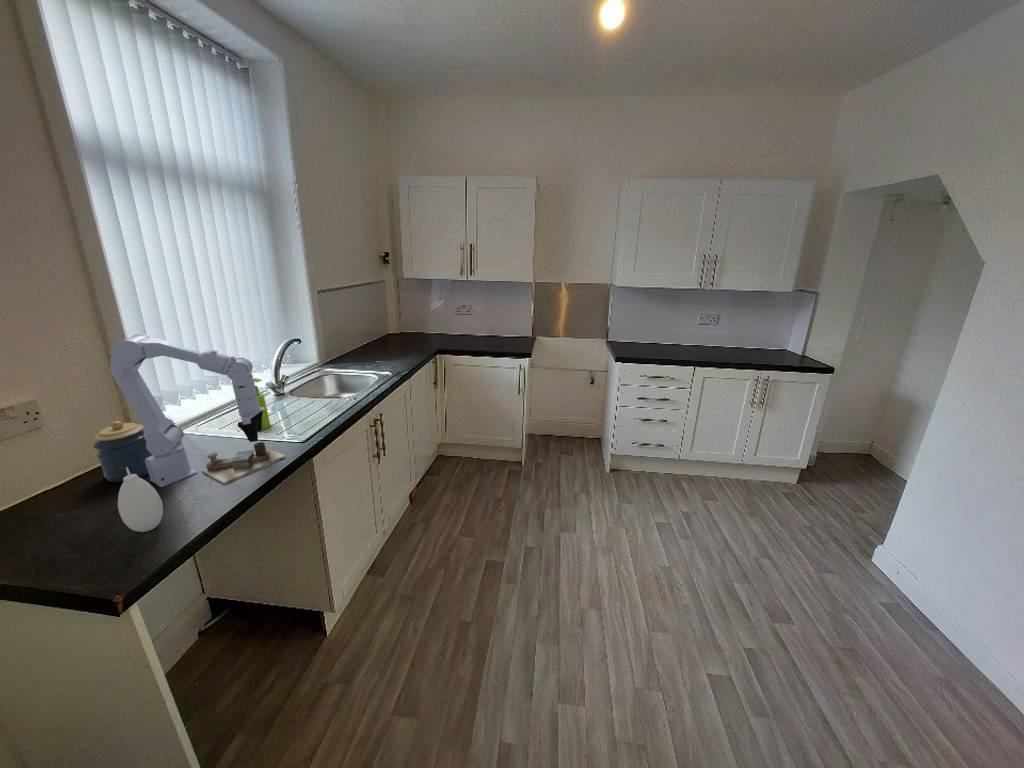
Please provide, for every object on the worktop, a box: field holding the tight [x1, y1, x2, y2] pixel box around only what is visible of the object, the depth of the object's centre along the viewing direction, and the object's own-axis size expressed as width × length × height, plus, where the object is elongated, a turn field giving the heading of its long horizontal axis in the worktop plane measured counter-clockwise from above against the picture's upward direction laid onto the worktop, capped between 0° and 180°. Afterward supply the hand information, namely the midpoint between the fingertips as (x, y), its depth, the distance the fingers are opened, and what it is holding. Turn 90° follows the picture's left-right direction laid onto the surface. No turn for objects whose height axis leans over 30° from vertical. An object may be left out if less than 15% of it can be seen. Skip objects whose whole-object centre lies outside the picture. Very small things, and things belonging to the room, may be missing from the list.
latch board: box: [201, 446, 287, 485], centre depth 132 cm, size 19×14×1 cm
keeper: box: [231, 449, 254, 470], centre depth 130 cm, size 6×4×4 cm
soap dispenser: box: [253, 377, 271, 430], centre depth 157 cm, size 6×7×20 cm
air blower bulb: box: [117, 467, 164, 533], centre depth 99 cm, size 8×8×18 cm
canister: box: [92, 420, 153, 483], centre depth 126 cm, size 13×13×18 cm
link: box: [205, 441, 270, 470], centre depth 130 cm, size 17×4×5 cm, turn 113°
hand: (255, 436), depth 131 cm, fingers open, 7 cm apart
